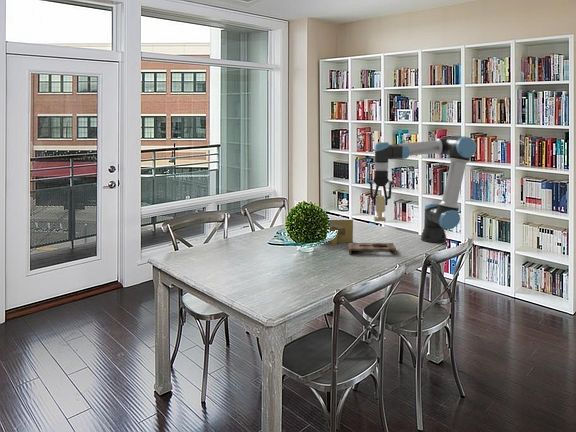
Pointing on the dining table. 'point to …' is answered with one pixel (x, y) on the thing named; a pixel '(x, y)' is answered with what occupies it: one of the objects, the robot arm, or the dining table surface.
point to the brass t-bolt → (380, 209)
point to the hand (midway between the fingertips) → (380, 210)
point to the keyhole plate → (371, 246)
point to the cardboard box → (342, 230)
